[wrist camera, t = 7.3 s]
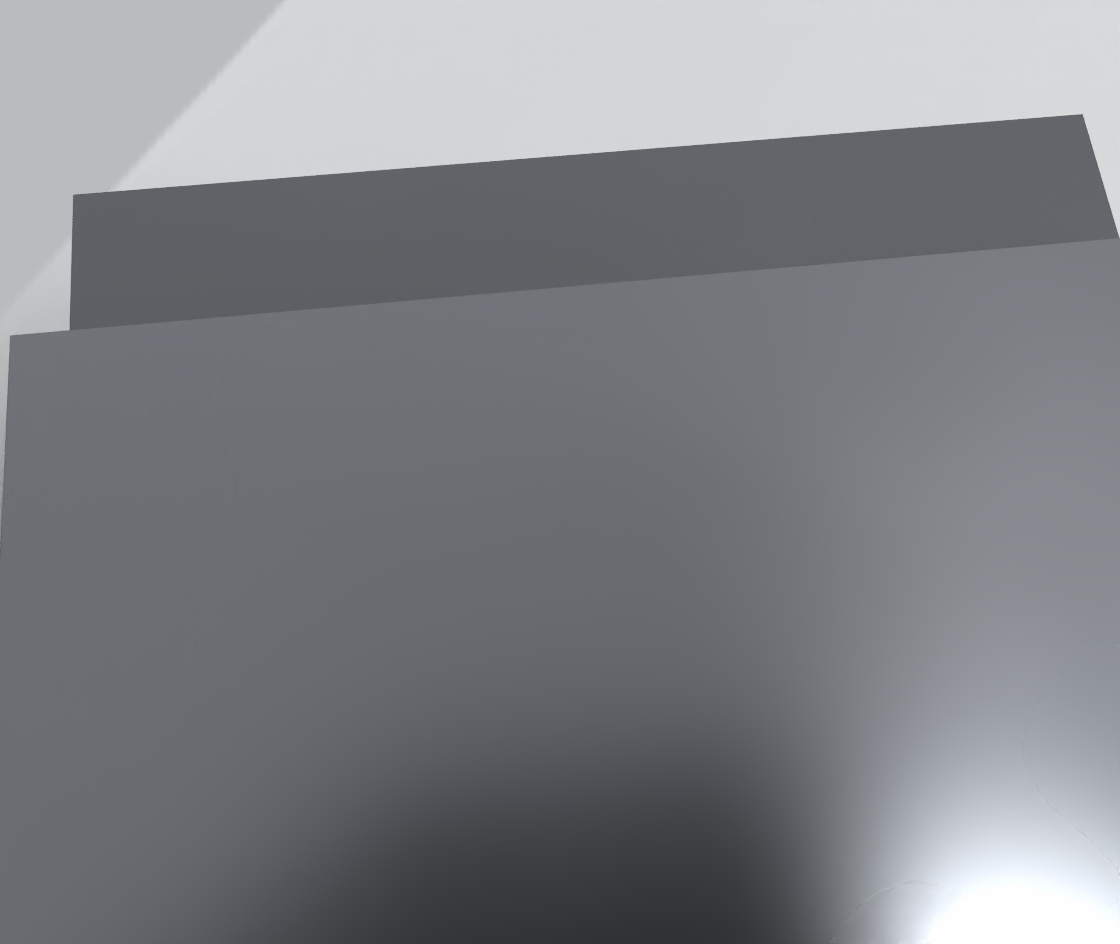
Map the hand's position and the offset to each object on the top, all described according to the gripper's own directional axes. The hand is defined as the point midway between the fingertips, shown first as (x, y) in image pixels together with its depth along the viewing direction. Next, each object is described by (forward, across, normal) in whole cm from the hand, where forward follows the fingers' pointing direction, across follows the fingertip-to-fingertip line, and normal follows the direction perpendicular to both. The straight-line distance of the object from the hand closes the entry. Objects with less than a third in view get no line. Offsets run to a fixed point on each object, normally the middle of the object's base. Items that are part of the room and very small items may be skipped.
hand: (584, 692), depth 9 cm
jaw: (+4, 0, +6) cm, 7 cm away
